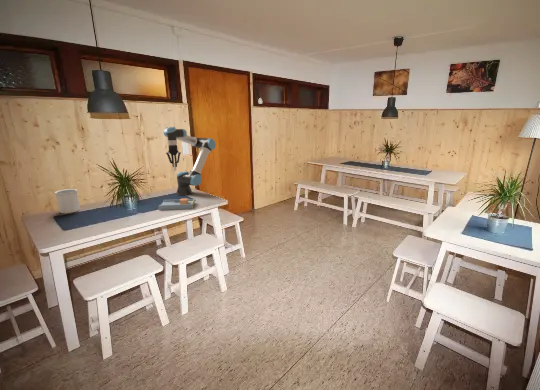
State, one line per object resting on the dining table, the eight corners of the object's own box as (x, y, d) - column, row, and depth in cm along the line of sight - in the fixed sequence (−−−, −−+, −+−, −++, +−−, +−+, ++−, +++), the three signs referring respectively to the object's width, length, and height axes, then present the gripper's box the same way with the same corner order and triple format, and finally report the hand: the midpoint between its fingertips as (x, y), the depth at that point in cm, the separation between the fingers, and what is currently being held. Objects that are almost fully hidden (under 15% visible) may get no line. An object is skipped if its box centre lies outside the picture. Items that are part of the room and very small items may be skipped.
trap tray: (163, 204, 240) (163, 199, 239) (195, 203, 243) (194, 198, 242) (158, 209, 224) (158, 205, 223) (192, 208, 228) (191, 204, 227)
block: (181, 202, 236) (181, 198, 235) (188, 202, 237) (187, 198, 235) (180, 204, 230) (179, 200, 229) (187, 204, 231) (186, 200, 230)
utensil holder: (71, 207, 230) (67, 188, 225) (85, 208, 227) (81, 189, 222) (55, 213, 216) (50, 192, 211) (69, 214, 213) (65, 193, 209)
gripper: (164, 145, 230) (166, 171, 237) (179, 145, 232) (181, 171, 239) (166, 144, 238) (169, 169, 244) (181, 144, 239) (183, 169, 246)
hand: (175, 170), depth 241 cm, fingers closed
